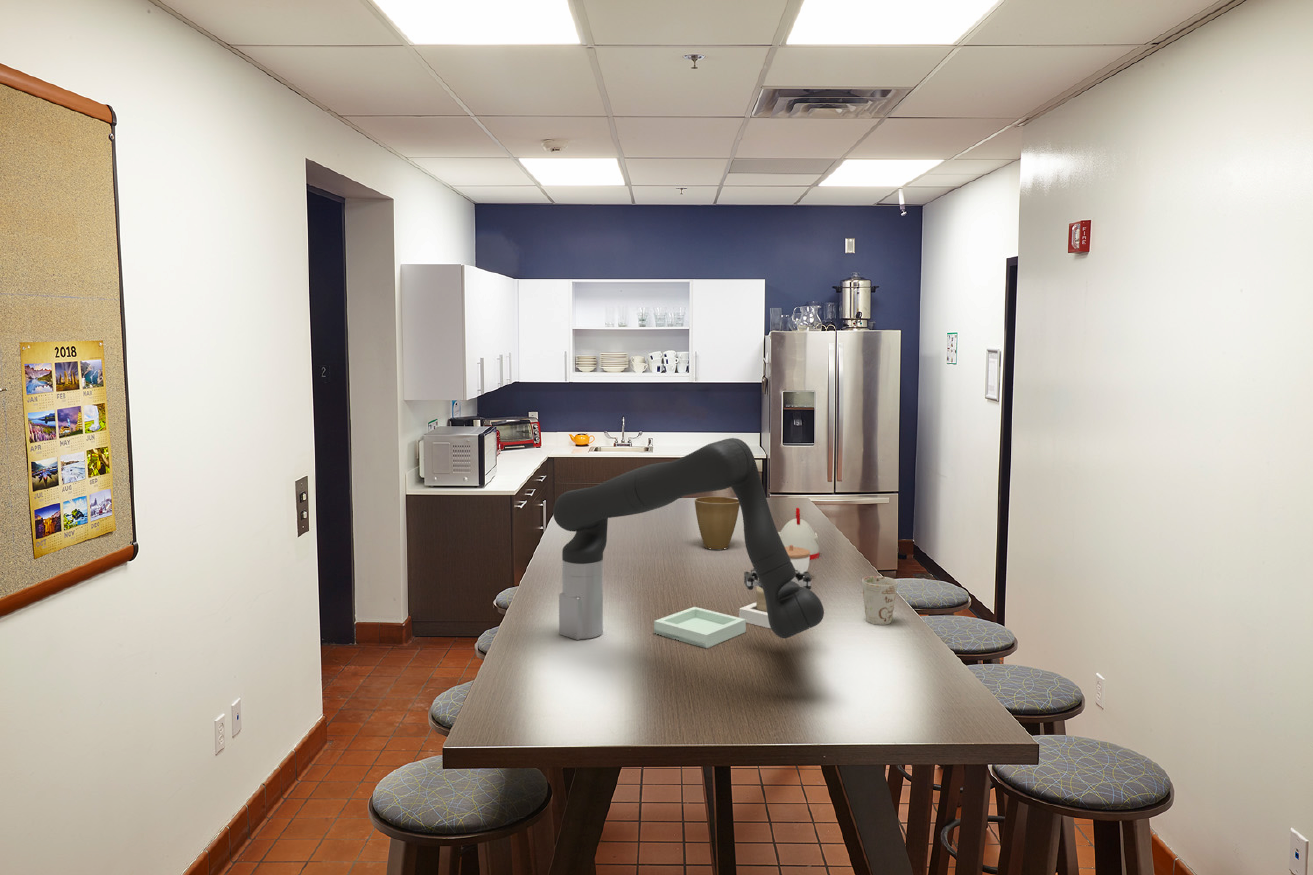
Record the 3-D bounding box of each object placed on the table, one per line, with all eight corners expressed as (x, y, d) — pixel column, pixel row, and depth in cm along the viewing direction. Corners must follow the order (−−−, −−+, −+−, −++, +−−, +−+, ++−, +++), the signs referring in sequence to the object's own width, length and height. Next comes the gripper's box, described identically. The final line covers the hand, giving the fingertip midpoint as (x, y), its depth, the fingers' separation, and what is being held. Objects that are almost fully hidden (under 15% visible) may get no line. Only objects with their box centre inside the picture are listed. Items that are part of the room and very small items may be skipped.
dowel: (767, 624, 210) (769, 562, 208) (752, 620, 213) (753, 559, 211) (777, 620, 213) (779, 559, 212) (762, 616, 216) (763, 556, 215)
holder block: (770, 628, 207) (771, 616, 206) (739, 620, 212) (739, 608, 212) (791, 619, 214) (791, 607, 213) (760, 612, 219) (760, 600, 219)
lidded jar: (766, 578, 251) (766, 546, 250) (779, 570, 261) (779, 539, 260) (802, 583, 246) (803, 550, 245) (814, 575, 256) (815, 543, 255)
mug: (871, 627, 208) (873, 586, 207) (846, 612, 220) (847, 572, 219) (903, 625, 210) (904, 583, 209) (876, 609, 222) (877, 570, 221)
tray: (706, 648, 193) (706, 634, 192) (654, 633, 202) (654, 620, 202) (745, 631, 204) (745, 619, 204) (694, 618, 214) (694, 606, 213)
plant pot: (740, 553, 283) (741, 503, 281) (694, 552, 283) (695, 503, 281) (737, 543, 297) (738, 496, 296) (693, 542, 298) (694, 495, 296)
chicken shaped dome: (817, 551, 287) (818, 505, 286) (820, 561, 273) (822, 513, 272) (774, 549, 288) (775, 504, 287) (775, 559, 275) (776, 512, 273)
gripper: (817, 573, 184) (805, 555, 200) (749, 573, 184) (742, 556, 200) (817, 608, 184) (804, 588, 201) (749, 608, 184) (742, 588, 201)
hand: (773, 572), depth 200 cm, fingers open, 8 cm apart
